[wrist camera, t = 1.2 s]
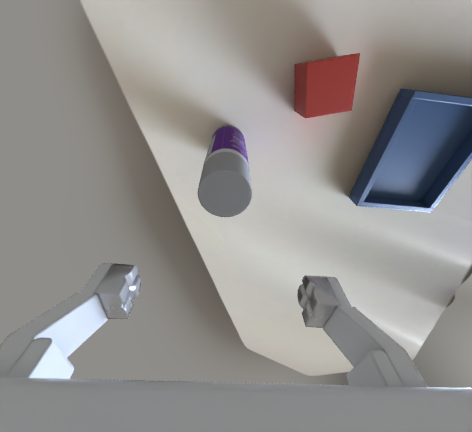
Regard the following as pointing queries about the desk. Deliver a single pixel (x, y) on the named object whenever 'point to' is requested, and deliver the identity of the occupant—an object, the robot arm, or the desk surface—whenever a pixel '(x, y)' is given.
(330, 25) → the desk surface
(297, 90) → the red block
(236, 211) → the container
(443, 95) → the tray
